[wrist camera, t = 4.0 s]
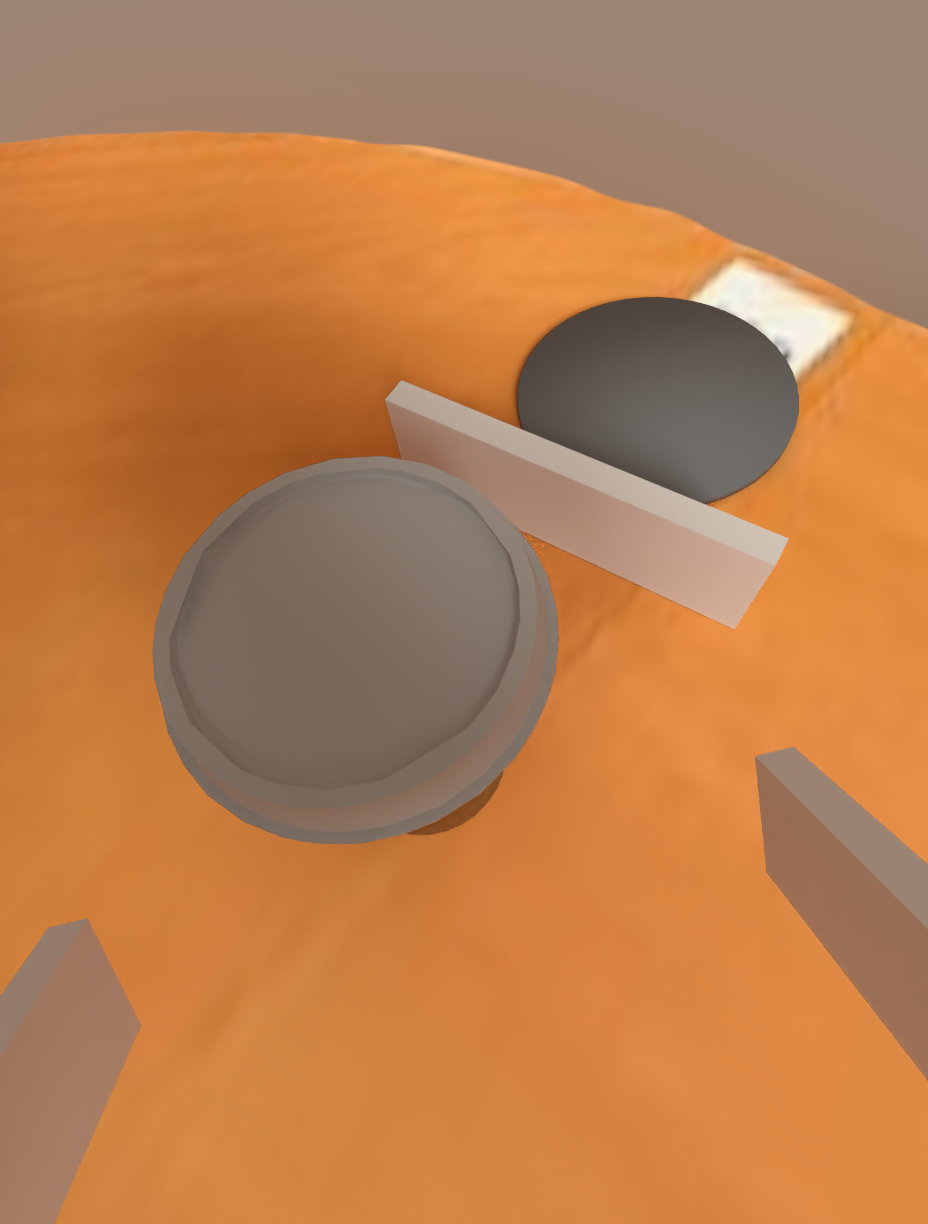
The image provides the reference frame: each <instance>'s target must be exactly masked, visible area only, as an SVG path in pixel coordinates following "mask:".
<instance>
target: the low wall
mask: <svg viewBox="0 0 928 1224" xmlns="http://www.w3.org/2000/svg"><path fill="white" fill-rule="evenodd" d="M385 402H386V406H387V409H388V413H389V416H390V420H391V424H392V427H393V431H394V434H395V438H396V442H397V445H398V449H399V452H400V456H401V459H402V460H408V461H413V462H419V463H424V464H428V465H430V466H432V467H435V468H437V469H439V470H441V471H444V472H446V473H448V474H451V475H453V476H455V477H457V478H460V479H462V480H464V481H465V482H466V483H468V484H469V485H471V486H472V487H473V488H475V489H476V490H477V491H479V492H480V493H481V494H483V495H484V496H485V497H487V498H488V499H489V500H490V501H491V502H492V503H493V504H494V505H495V506H496V507H497V508H498V509H499V510H500V512H501V513H502V514H503V515H504V516H505V517H506V518H507V519H508V520H509V521H510V522H512V523H513V524H514V525H515V526H516V527H517V528H518V529H519V530H521V531H523V532H526V533H528V534H530V535H532V536H534V537H536V538H538V539H541V540H543V541H545V542H547V543H549V544H551V545H553V546H556V547H558V548H560V549H562V550H564V551H566V552H569V553H571V554H573V555H575V556H577V557H579V558H581V559H584V560H586V561H588V562H590V563H592V564H594V565H597V566H599V567H601V568H603V569H605V570H607V571H609V572H612V573H614V574H616V575H618V576H620V577H622V578H625V579H627V580H629V581H631V582H633V583H635V584H637V585H640V586H642V587H644V588H646V589H648V590H650V591H653V592H655V593H657V594H659V595H661V596H663V597H665V598H668V599H670V600H672V601H674V602H676V603H678V604H680V605H683V606H685V607H687V608H689V609H691V610H693V611H696V612H698V613H700V614H702V615H704V616H706V617H708V618H711V619H713V620H715V621H717V622H719V623H721V624H724V625H726V626H728V627H730V628H732V629H735V628H736V626H737V624H738V623H739V621H740V620H741V618H742V617H743V615H744V614H745V612H746V610H747V609H748V607H749V606H750V604H751V603H752V601H753V600H754V598H755V596H756V595H757V593H758V592H759V590H760V589H761V587H762V586H763V584H764V582H765V581H766V579H767V578H768V576H769V575H770V573H771V572H772V570H773V569H774V567H775V565H776V563H777V561H778V559H779V557H780V555H781V553H782V551H783V549H784V547H785V545H786V543H787V541H788V538H786V537H784V536H781V535H779V534H776V533H774V532H771V531H769V530H766V529H764V528H762V527H759V526H757V525H754V524H752V523H749V522H747V521H744V520H742V519H740V518H737V517H735V516H732V515H730V514H727V513H725V512H722V511H720V510H718V509H715V508H713V507H710V506H708V505H705V504H703V503H700V502H698V501H696V500H693V499H691V498H688V497H686V496H683V495H681V494H678V493H676V492H674V491H671V490H669V489H666V488H664V487H661V486H659V485H656V484H654V483H652V482H649V481H647V480H644V479H642V478H639V477H637V476H634V475H632V474H630V473H627V472H625V471H622V470H620V469H617V468H615V467H612V466H610V465H608V464H605V463H603V462H600V461H598V460H595V459H593V458H590V457H588V456H586V455H583V454H581V453H578V452H576V451H573V450H571V449H568V448H566V447H564V446H561V445H559V444H556V443H554V442H551V441H549V440H546V439H544V438H542V437H539V436H537V435H534V434H532V433H529V432H527V431H524V430H522V429H520V428H517V427H515V426H512V425H510V424H507V423H505V422H502V421H500V420H498V419H495V418H493V417H490V416H488V415H485V414H483V413H481V412H478V411H476V410H473V409H471V408H468V407H466V406H463V405H461V404H459V403H456V402H454V401H451V400H449V399H446V398H444V397H441V396H439V395H437V394H434V393H432V392H429V391H427V390H424V389H422V388H419V387H417V386H415V385H412V384H410V383H407V382H405V381H402V380H401V381H400V383H399V384H398V385H397V386H396V387H395V388H394V390H393V391H392V392H391V393H390V394H389V396H388V397H387V398H386V399H385Z"/></svg>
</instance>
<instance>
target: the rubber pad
mask: <svg viewBox="0 0 928 1224" xmlns="http://www.w3.org/2000/svg"><path fill="white" fill-rule="evenodd" d="M517 400H518V415H519V420H520V424H521V428H522V430H524V431H527V432H529V433H532V434H534V435H537V436H539V437H542V438H544V439H546V440H549V441H551V442H554V443H556V444H559V445H561V446H564V447H566V448H568V449H571V450H573V451H576V452H578V453H581V454H583V455H586V456H588V457H590V458H593V459H595V460H598V461H600V462H603V463H605V464H608V465H610V466H612V467H615V468H617V469H620V470H622V471H625V472H627V473H630V474H632V475H634V476H637V477H639V478H642V479H644V480H647V481H649V482H652V483H654V484H656V485H659V486H661V487H664V488H666V489H669V490H671V491H674V492H676V493H678V494H681V495H683V496H686V497H688V498H691V499H693V500H696V501H698V502H700V503H703V504H708V503H711V502H714V501H718V500H721V499H724V498H726V497H728V496H730V495H733V494H735V493H737V492H739V491H741V490H743V489H744V488H746V487H748V486H749V485H751V484H752V483H754V482H755V481H757V480H758V479H759V478H760V477H761V476H763V475H764V474H765V473H766V472H768V470H769V469H770V468H771V467H772V466H773V465H774V464H775V463H776V462H777V460H778V459H779V458H780V456H781V454H782V453H783V451H784V450H785V448H786V447H787V445H788V443H789V441H790V438H791V436H792V434H793V431H794V429H795V427H796V422H797V418H798V413H799V395H798V389H797V384H796V381H795V378H794V375H793V372H792V370H791V368H790V366H789V364H788V363H787V361H786V359H785V358H784V356H783V355H782V354H781V352H780V351H779V350H778V348H777V347H776V346H775V345H774V344H773V343H772V342H771V341H770V340H769V339H768V338H767V337H766V336H765V335H764V334H762V333H761V332H760V331H759V330H757V329H756V328H755V327H753V326H752V325H750V324H749V323H747V322H745V321H744V320H742V319H740V318H738V317H736V316H734V315H732V314H730V313H728V312H726V311H723V310H721V309H718V308H715V307H712V306H709V305H706V304H702V303H698V302H694V301H688V300H682V299H676V298H662V297H643V298H633V299H625V300H620V301H614V302H610V303H606V304H603V305H599V306H596V307H593V308H591V309H588V310H586V311H583V312H581V313H579V314H577V315H575V316H573V317H571V318H569V319H567V320H566V321H564V322H563V323H561V324H560V325H558V326H557V327H555V328H554V329H553V330H552V331H551V332H549V333H548V334H547V335H546V336H545V337H544V338H543V339H542V340H541V341H540V342H539V343H538V345H537V346H536V347H535V348H534V350H533V351H532V353H531V354H530V356H529V357H528V359H527V361H526V363H525V365H524V367H523V370H522V373H521V376H520V380H519V384H518V395H517Z"/></svg>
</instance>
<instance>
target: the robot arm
mask: <svg viewBox="0 0 928 1224" xmlns="http://www.w3.org/2000/svg"><path fill="white" fill-rule="evenodd" d="M755 760H756V770H757V781H758V791H759V801H760V811H761V821H762V832H763V842H764V852H765V862H766V872H767V873H768V875H769V876H770V877H771V878H772V880H773V881H774V882H775V884H776V885H777V886H778V888H779V889H780V890H781V891H782V893H783V894H784V895H785V897H786V898H787V899H788V900H789V902H790V903H791V904H792V906H793V907H794V908H795V909H796V911H797V912H798V913H799V915H800V916H801V917H802V919H803V920H804V921H805V922H806V924H807V925H808V926H809V928H810V929H811V930H812V931H813V933H814V934H815V935H816V937H817V938H818V939H819V941H820V942H821V943H822V944H823V946H824V947H825V948H826V950H827V951H828V952H829V953H830V955H831V956H832V957H833V959H834V960H835V961H836V962H837V964H838V965H839V966H840V968H841V969H842V970H843V972H844V973H845V974H846V975H847V977H848V978H849V979H850V981H851V982H852V983H853V984H854V986H855V987H856V988H857V990H858V991H859V992H860V993H861V995H862V996H863V997H864V999H865V1000H866V1001H867V1003H868V1004H869V1005H870V1006H871V1008H872V1009H873V1010H874V1012H875V1013H876V1014H877V1015H878V1017H879V1018H880V1019H881V1021H882V1022H883V1023H884V1025H885V1026H886V1027H887V1028H888V1030H889V1031H890V1032H891V1034H892V1035H893V1036H894V1037H895V1039H896V1040H897V1041H898V1043H899V1044H900V1045H901V1046H902V1048H903V1049H904V1050H905V1052H906V1053H907V1054H908V1056H909V1057H910V1058H911V1059H912V1061H913V1062H914V1063H915V1065H916V1066H917V1067H918V1068H919V1070H920V1071H921V1072H922V1074H923V1075H924V1076H925V1077H926V1079H927V1080H928V864H927V863H926V862H924V861H923V860H922V859H921V858H920V857H919V856H918V855H917V854H915V853H914V852H913V851H912V850H911V849H910V848H909V847H907V846H906V845H905V844H904V843H903V842H902V841H901V840H899V839H898V838H897V837H896V836H895V835H894V834H893V833H891V832H890V831H889V830H888V829H887V828H886V827H885V826H883V825H882V824H881V823H880V822H879V821H878V820H877V819H875V818H874V817H873V816H872V815H871V814H870V813H869V812H867V811H866V810H865V809H864V808H863V807H862V806H861V805H859V804H858V803H857V802H856V801H855V800H854V799H853V798H851V797H850V796H849V795H848V794H847V793H846V792H845V791H843V790H842V789H841V788H840V787H839V786H838V785H837V784H835V783H834V782H833V781H832V780H831V779H830V778H829V777H827V776H826V775H825V774H824V773H823V772H822V771H821V770H819V769H818V768H817V767H816V766H815V765H814V764H813V763H811V762H810V761H809V760H808V759H807V758H806V757H805V756H803V755H802V754H801V753H800V752H799V751H798V750H797V749H795V748H794V747H791V748H787V749H783V750H779V751H775V752H771V753H767V754H762V755H758V756H755ZM140 1026H141V1024H140V1022H139V1020H138V1018H137V1016H136V1014H135V1012H134V1010H133V1008H132V1006H131V1004H130V1002H129V1000H128V998H127V996H126V994H125V992H124V990H123V988H122V986H121V984H120V982H119V980H118V978H117V976H116V974H115V972H114V970H113V968H112V966H111V964H110V962H109V960H108V958H107V956H106V954H105V952H104V950H103V948H102V946H101V944H100V942H99V940H98V938H97V936H96V934H95V932H94V930H93V928H92V926H91V924H90V922H89V920H88V918H87V919H83V920H79V921H75V922H71V923H67V924H63V925H58V926H54V927H50V928H48V929H47V930H46V932H45V933H44V935H43V936H42V938H41V939H40V941H39V942H38V943H37V945H36V946H35V948H34V949H33V951H32V952H31V953H30V955H29V956H28V958H27V959H26V961H25V962H24V963H23V965H22V966H21V968H20V969H19V971H18V972H17V974H16V975H15V976H14V978H13V979H12V981H11V982H10V984H9V985H8V986H7V988H6V989H5V991H4V992H3V994H2V995H1V996H0V1224H54V1223H55V1221H56V1219H57V1216H58V1214H59V1212H60V1210H61V1207H62V1205H63V1203H64V1200H65V1198H66V1196H67V1194H68V1191H69V1189H70V1187H71V1184H72V1182H73V1180H74V1177H75V1175H76V1173H77V1171H78V1168H79V1166H80V1164H81V1161H82V1159H83V1157H84V1155H85V1152H86V1150H87V1148H88V1145H89V1143H90V1141H91V1139H92V1136H93V1134H94V1132H95V1129H96V1127H97V1125H98V1122H99V1120H100V1118H101V1116H102V1113H103V1111H104V1109H105V1106H106V1104H107V1102H108V1100H109V1097H110V1095H111V1093H112V1090H113V1088H114V1086H115V1083H116V1081H117V1079H118V1077H119V1074H120V1072H121V1070H122V1067H123V1065H124V1063H125V1061H126V1058H127V1056H128V1054H129V1051H130V1049H131V1047H132V1045H133V1042H134V1040H135V1038H136V1035H137V1033H138V1031H139V1028H140Z"/></svg>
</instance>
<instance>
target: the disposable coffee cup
mask: <svg viewBox="0 0 928 1224" xmlns="http://www.w3.org/2000/svg"><path fill="white" fill-rule="evenodd" d="M558 642H559V636H558V622H557V608H556V605H555V601H554V598H553V594H552V591H551V588H550V584H549V581H548V577H547V574H546V572H545V570H544V568H543V566H542V564H541V562H540V560H539V559H538V557H537V555H536V553H535V551H534V549H533V548H532V547H531V545H530V544H529V543H528V541H527V540H526V539H525V538H524V536H523V535H522V534H521V532H520V531H519V530H518V528H517V527H516V526H515V525H514V524H513V523H512V522H510V521H509V520H508V519H507V518H506V517H505V516H504V515H503V514H502V513H501V512H500V510H499V509H498V508H497V507H496V506H495V505H494V504H493V503H492V502H491V501H490V500H489V499H488V498H487V497H485V496H484V495H483V494H481V493H480V492H479V491H477V490H476V489H475V488H473V487H472V486H471V485H469V484H468V483H466V482H465V481H464V480H462V479H460V478H457V477H455V476H453V475H451V474H448V473H446V472H444V471H441V470H439V469H437V468H435V467H432V466H430V465H428V464H424V463H419V462H413V461H408V460H402V459H397V458H391V457H386V456H373V457H356V458H340V459H331V460H327V461H324V462H321V463H317V464H314V465H310V466H307V467H304V468H300V469H297V470H294V471H290V472H287V473H284V474H282V475H280V476H278V477H276V478H274V479H273V480H271V481H269V482H267V483H265V484H263V485H262V486H260V487H258V488H256V489H254V490H252V491H250V492H249V493H247V494H246V495H244V496H243V497H242V498H240V499H239V500H238V501H237V502H235V503H234V504H233V505H231V506H230V507H229V508H227V509H226V510H225V511H224V512H222V513H221V514H220V515H219V516H218V517H217V518H216V519H215V520H214V522H213V523H212V524H211V525H210V526H209V527H208V528H207V530H206V531H205V532H204V533H203V534H202V535H201V536H200V538H199V539H198V540H197V541H196V542H195V544H194V545H193V546H192V547H191V548H190V550H189V551H188V552H187V553H186V554H185V556H184V557H183V558H182V560H181V562H180V564H179V566H178V568H177V570H176V572H175V574H174V576H173V577H172V579H171V581H170V583H169V585H168V587H167V589H166V591H165V594H164V598H163V601H162V604H161V608H160V611H159V615H158V618H157V621H156V626H155V636H154V646H153V663H154V677H155V682H156V686H157V690H158V693H159V697H160V700H161V704H162V708H163V711H164V716H165V721H166V725H167V730H168V733H169V735H170V737H171V740H172V742H173V744H174V746H175V748H176V750H177V752H178V754H179V756H180V758H181V760H182V762H183V764H184V766H185V767H186V768H187V770H188V771H189V772H190V773H191V775H192V776H193V777H194V779H195V780H196V781H197V782H198V784H199V785H200V786H201V787H202V789H203V790H204V791H205V792H206V794H207V795H208V796H209V797H211V798H212V799H213V800H215V801H216V802H218V803H219V804H220V805H222V806H223V807H224V808H226V809H227V810H229V811H230V812H231V813H233V814H234V815H235V816H237V817H238V818H240V819H241V820H242V821H244V822H246V823H248V824H251V825H253V826H256V827H258V828H261V829H263V830H266V831H268V832H271V833H273V834H275V835H278V836H280V837H284V838H288V839H293V840H297V841H301V842H310V843H319V844H360V843H366V842H371V841H376V840H381V839H386V838H390V837H395V836H400V835H403V834H412V835H431V834H435V833H440V832H444V831H448V830H450V829H452V828H454V827H457V826H459V825H461V824H463V823H464V822H466V821H467V820H469V819H470V818H472V817H473V816H474V815H476V814H477V813H478V812H479V811H480V810H481V809H482V807H483V806H484V805H485V804H486V803H487V802H488V801H489V800H490V798H491V797H492V795H493V793H494V792H495V790H496V789H497V787H498V784H499V782H500V779H501V777H502V774H503V771H504V769H505V768H506V767H507V766H508V765H509V764H510V763H511V762H512V761H513V760H514V759H515V757H516V756H517V754H518V753H519V751H520V750H521V748H522V747H523V745H524V744H525V742H526V741H527V739H528V738H529V736H530V734H531V733H532V731H533V730H534V728H535V726H536V724H537V722H538V720H539V718H540V715H541V713H542V711H543V708H544V706H545V704H546V701H547V699H548V696H549V693H550V690H551V687H552V683H553V679H554V676H555V669H556V660H557V651H558Z"/></svg>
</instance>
